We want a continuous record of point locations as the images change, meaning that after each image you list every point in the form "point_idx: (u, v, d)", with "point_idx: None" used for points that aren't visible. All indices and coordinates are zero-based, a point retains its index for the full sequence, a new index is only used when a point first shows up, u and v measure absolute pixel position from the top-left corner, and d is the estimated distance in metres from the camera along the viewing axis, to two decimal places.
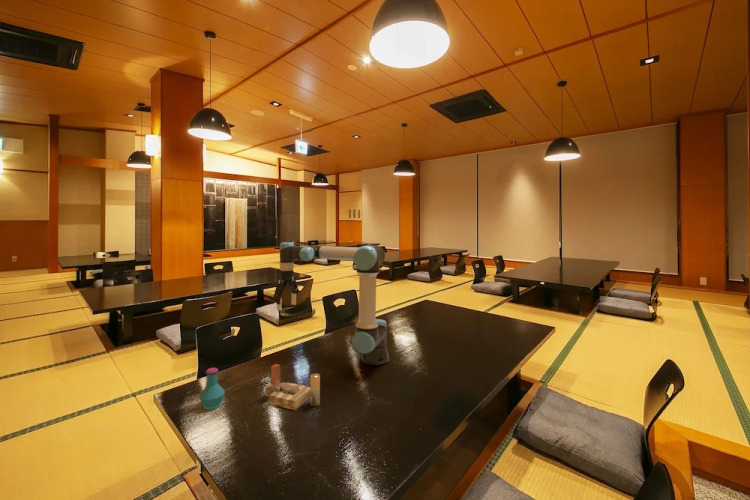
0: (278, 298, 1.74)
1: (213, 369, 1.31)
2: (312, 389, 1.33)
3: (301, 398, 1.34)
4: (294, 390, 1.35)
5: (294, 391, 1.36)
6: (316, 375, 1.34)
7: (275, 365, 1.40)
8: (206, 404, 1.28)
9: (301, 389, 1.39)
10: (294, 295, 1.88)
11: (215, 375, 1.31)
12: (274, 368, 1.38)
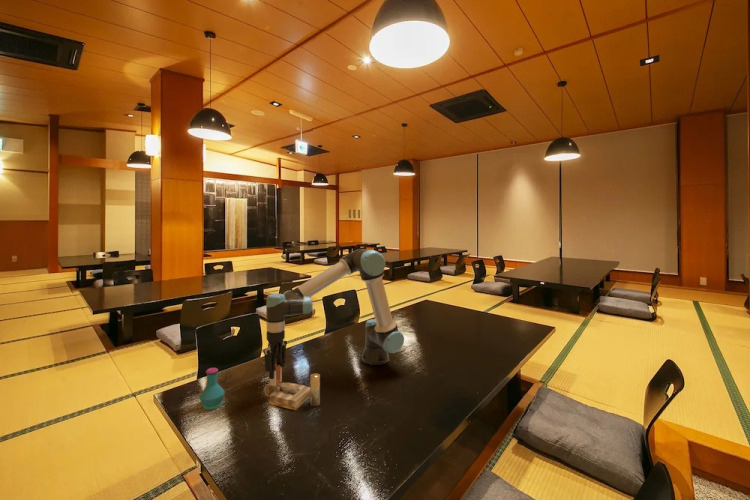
0: (272, 371, 1.36)
1: (213, 369, 1.31)
2: (312, 389, 1.33)
3: (301, 398, 1.34)
4: (294, 390, 1.35)
5: (294, 391, 1.36)
6: (316, 375, 1.34)
7: (275, 365, 1.40)
8: (206, 404, 1.28)
9: (301, 389, 1.39)
10: None
11: (215, 375, 1.31)
12: None
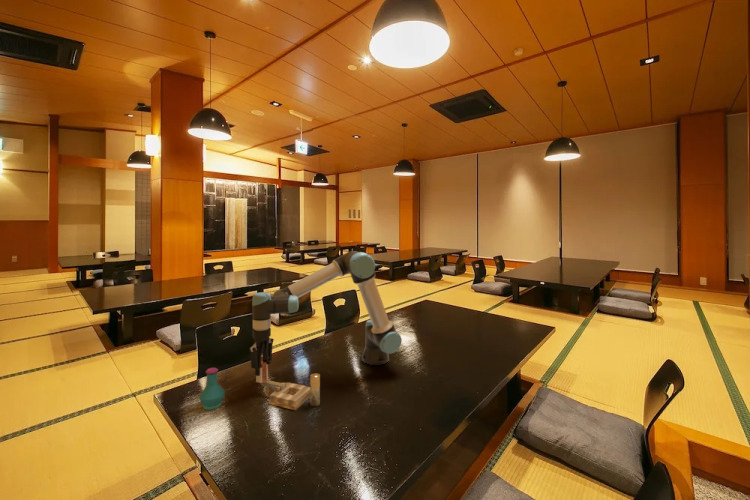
0: (257, 368, 1.39)
1: (213, 369, 1.31)
2: (312, 389, 1.33)
3: (301, 398, 1.34)
4: None
5: None
6: (316, 375, 1.34)
7: (261, 362, 1.42)
8: (206, 404, 1.28)
9: (301, 389, 1.39)
10: None
11: (215, 375, 1.31)
12: None
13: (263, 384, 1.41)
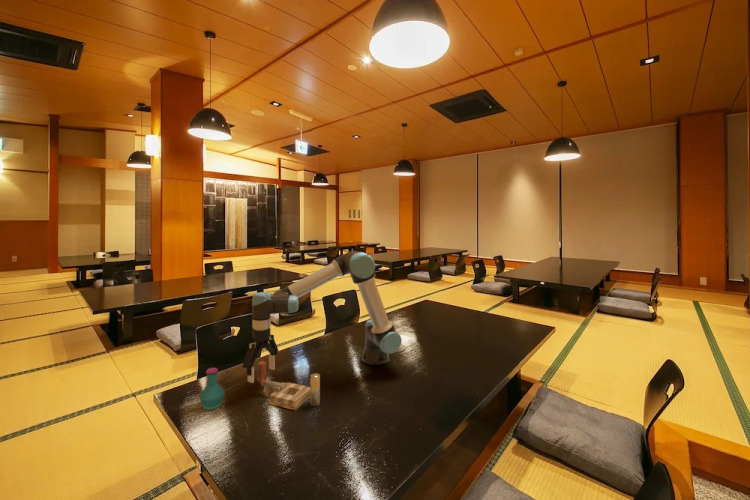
0: (249, 368, 1.34)
1: (213, 369, 1.31)
2: (312, 389, 1.33)
3: (301, 398, 1.34)
4: None
5: None
6: (316, 375, 1.34)
7: (261, 362, 1.42)
8: (206, 404, 1.28)
9: (301, 389, 1.39)
10: (272, 357, 1.48)
11: (215, 375, 1.31)
12: (260, 365, 1.41)
13: (263, 384, 1.41)
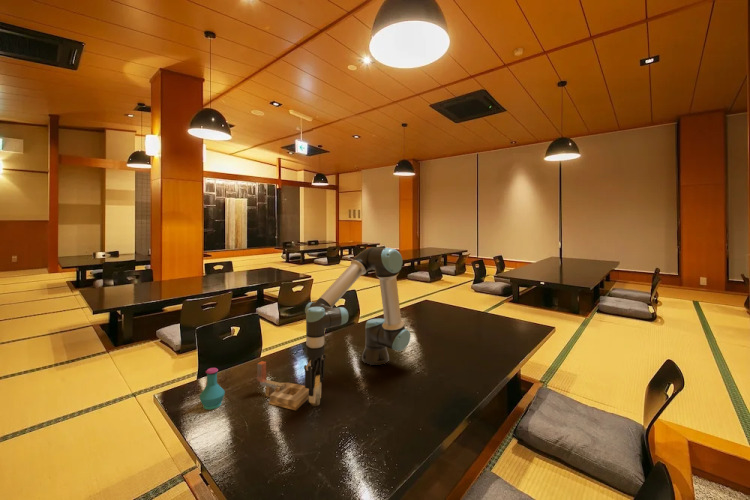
0: (311, 388, 1.31)
1: (213, 369, 1.31)
2: None
3: (301, 398, 1.34)
4: None
5: None
6: (316, 375, 1.34)
7: (261, 362, 1.42)
8: (206, 404, 1.28)
9: (301, 389, 1.39)
10: None
11: (215, 375, 1.31)
12: (260, 365, 1.41)
13: (263, 384, 1.41)
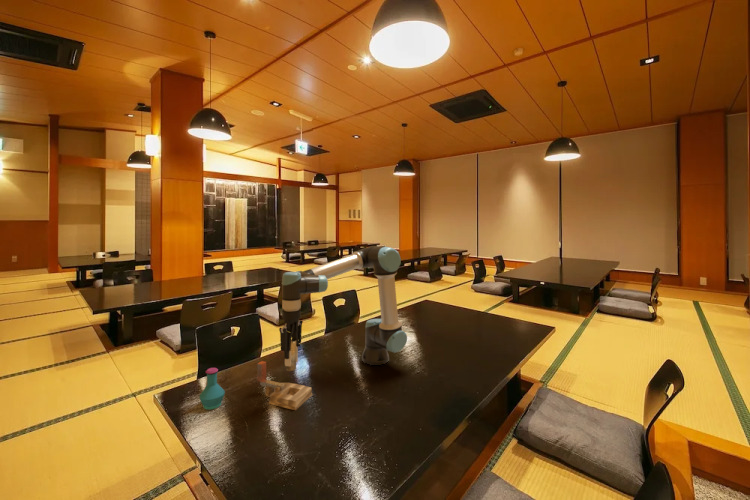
0: (287, 351, 1.32)
1: (213, 369, 1.31)
2: None
3: (301, 398, 1.34)
4: None
5: None
6: (292, 341, 1.36)
7: (261, 362, 1.42)
8: (206, 404, 1.28)
9: (301, 389, 1.39)
10: None
11: (215, 375, 1.31)
12: (260, 365, 1.41)
13: (263, 384, 1.41)
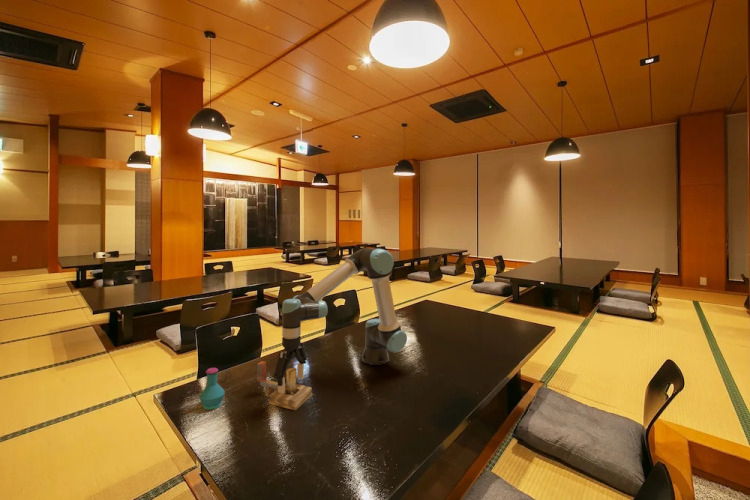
0: (280, 378, 1.29)
1: (213, 369, 1.31)
2: (288, 383, 1.35)
3: (301, 398, 1.34)
4: None
5: None
6: (292, 370, 1.37)
7: (261, 362, 1.42)
8: (206, 404, 1.28)
9: (301, 389, 1.39)
10: (301, 366, 1.43)
11: (215, 375, 1.31)
12: (260, 365, 1.41)
13: (263, 384, 1.41)
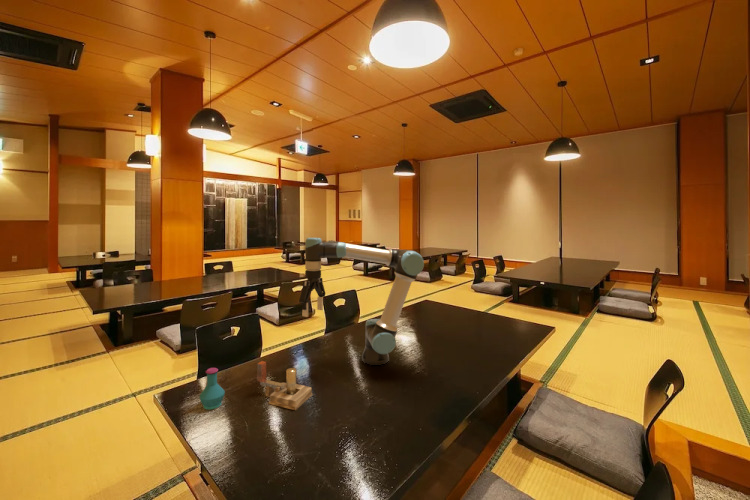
0: (304, 303, 1.49)
1: (213, 369, 1.31)
2: (288, 383, 1.35)
3: (301, 398, 1.34)
4: None
5: None
6: (292, 370, 1.37)
7: (261, 362, 1.42)
8: (206, 404, 1.28)
9: (301, 389, 1.39)
10: (321, 299, 1.63)
11: (215, 375, 1.31)
12: (260, 365, 1.41)
13: (263, 384, 1.41)
